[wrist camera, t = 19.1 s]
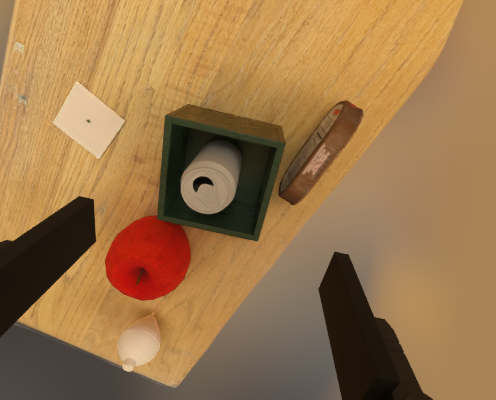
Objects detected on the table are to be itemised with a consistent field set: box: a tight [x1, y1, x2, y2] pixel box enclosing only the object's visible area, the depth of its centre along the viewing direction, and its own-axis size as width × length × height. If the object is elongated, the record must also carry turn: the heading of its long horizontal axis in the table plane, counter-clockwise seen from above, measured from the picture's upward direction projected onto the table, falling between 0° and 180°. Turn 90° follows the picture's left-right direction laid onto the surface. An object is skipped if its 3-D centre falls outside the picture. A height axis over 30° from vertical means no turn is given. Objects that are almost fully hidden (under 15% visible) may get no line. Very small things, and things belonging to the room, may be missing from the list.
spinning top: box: [117, 312, 161, 371], centre depth 52 cm, size 8×8×12 cm
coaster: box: [53, 81, 125, 159], centre depth 40 cm, size 8×8×1 cm
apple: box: [105, 216, 191, 301], centre depth 42 cm, size 12×12×13 cm
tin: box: [279, 101, 363, 205], centre depth 36 cm, size 15×3×8 cm, turn 149°
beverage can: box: [181, 139, 242, 214], centre depth 36 cm, size 6×6×12 cm
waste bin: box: [157, 104, 286, 241], centre depth 37 cm, size 14×14×10 cm
